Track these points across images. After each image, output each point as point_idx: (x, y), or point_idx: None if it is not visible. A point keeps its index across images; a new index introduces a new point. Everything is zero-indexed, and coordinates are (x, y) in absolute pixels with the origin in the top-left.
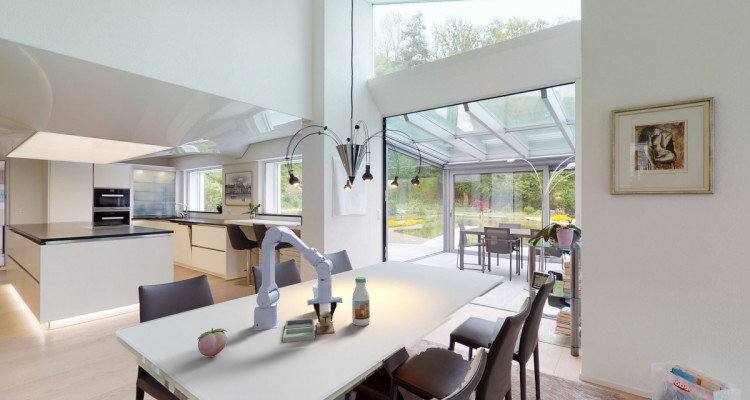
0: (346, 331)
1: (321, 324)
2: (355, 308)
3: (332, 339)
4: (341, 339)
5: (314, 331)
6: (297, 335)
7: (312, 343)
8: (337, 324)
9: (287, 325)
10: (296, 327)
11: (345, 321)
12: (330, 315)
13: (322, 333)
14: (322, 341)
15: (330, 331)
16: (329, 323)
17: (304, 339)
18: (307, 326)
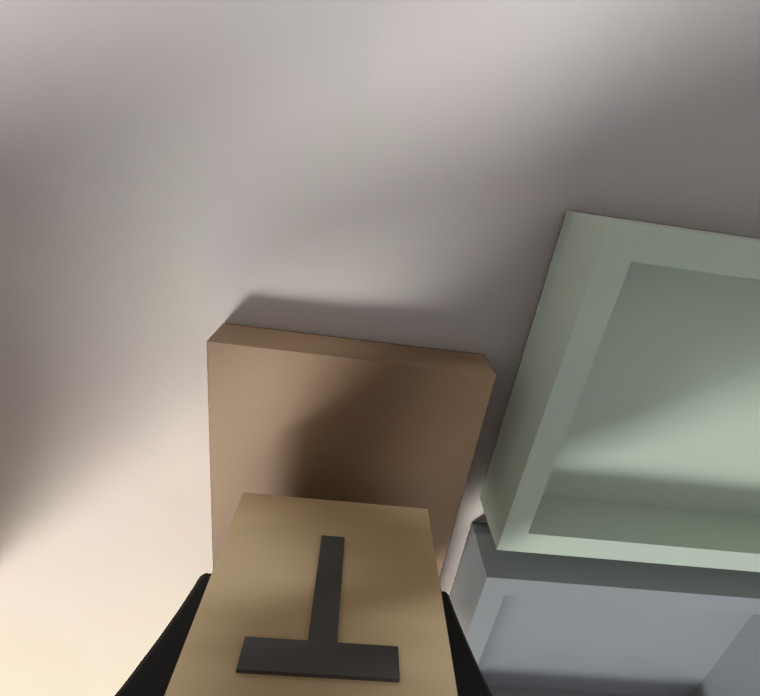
0: (33, 357)
1: (406, 528)
2: None
3: (281, 115)
4: (112, 40)
5: (557, 376)
6: (740, 427)
7: (650, 74)
8: (166, 589)
9: (729, 678)
10: (717, 590)
11: (65, 632)
12: (180, 686)
13: (410, 358)
14: (466, 94)
15: (278, 351)
16: (261, 520)
17: (739, 236)
18: (575, 580)
